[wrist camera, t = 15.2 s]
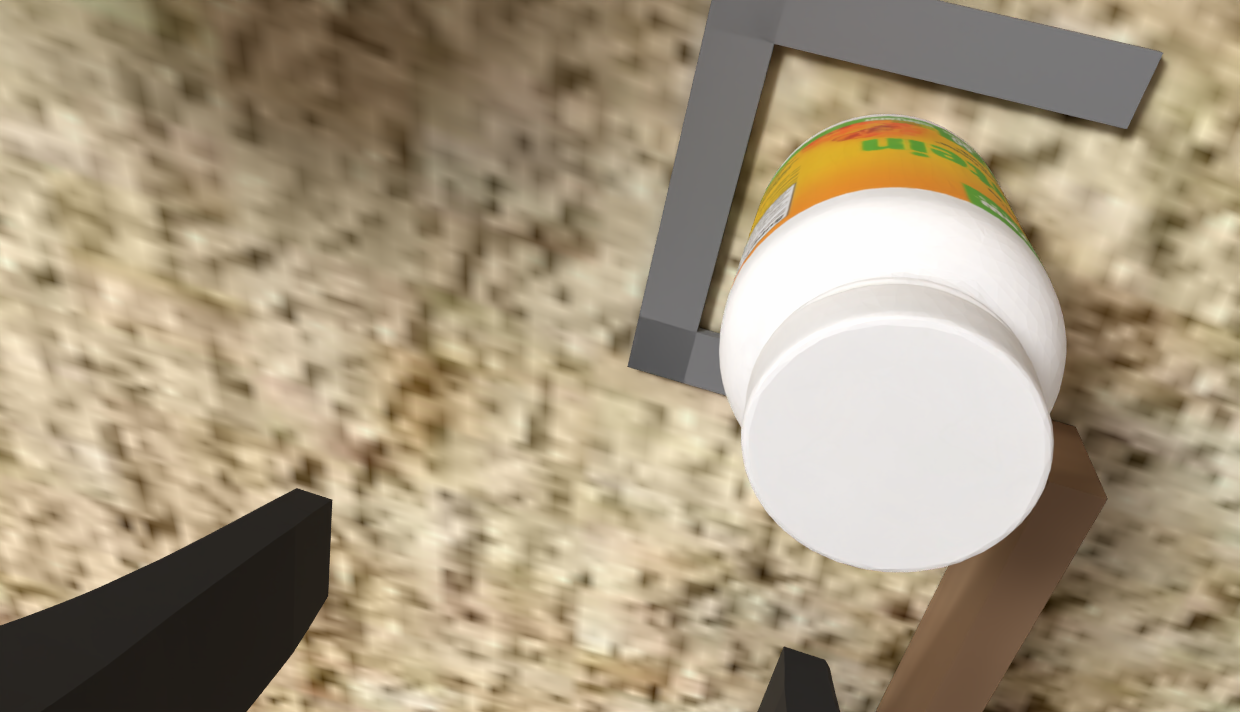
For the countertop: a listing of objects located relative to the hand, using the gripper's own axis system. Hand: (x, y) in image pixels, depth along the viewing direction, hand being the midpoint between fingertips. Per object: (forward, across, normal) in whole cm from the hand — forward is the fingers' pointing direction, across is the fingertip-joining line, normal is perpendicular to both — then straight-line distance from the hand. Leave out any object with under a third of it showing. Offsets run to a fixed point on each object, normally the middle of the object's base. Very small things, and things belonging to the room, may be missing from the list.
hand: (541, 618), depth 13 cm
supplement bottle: (+11, -4, -4) cm, 12 cm away
